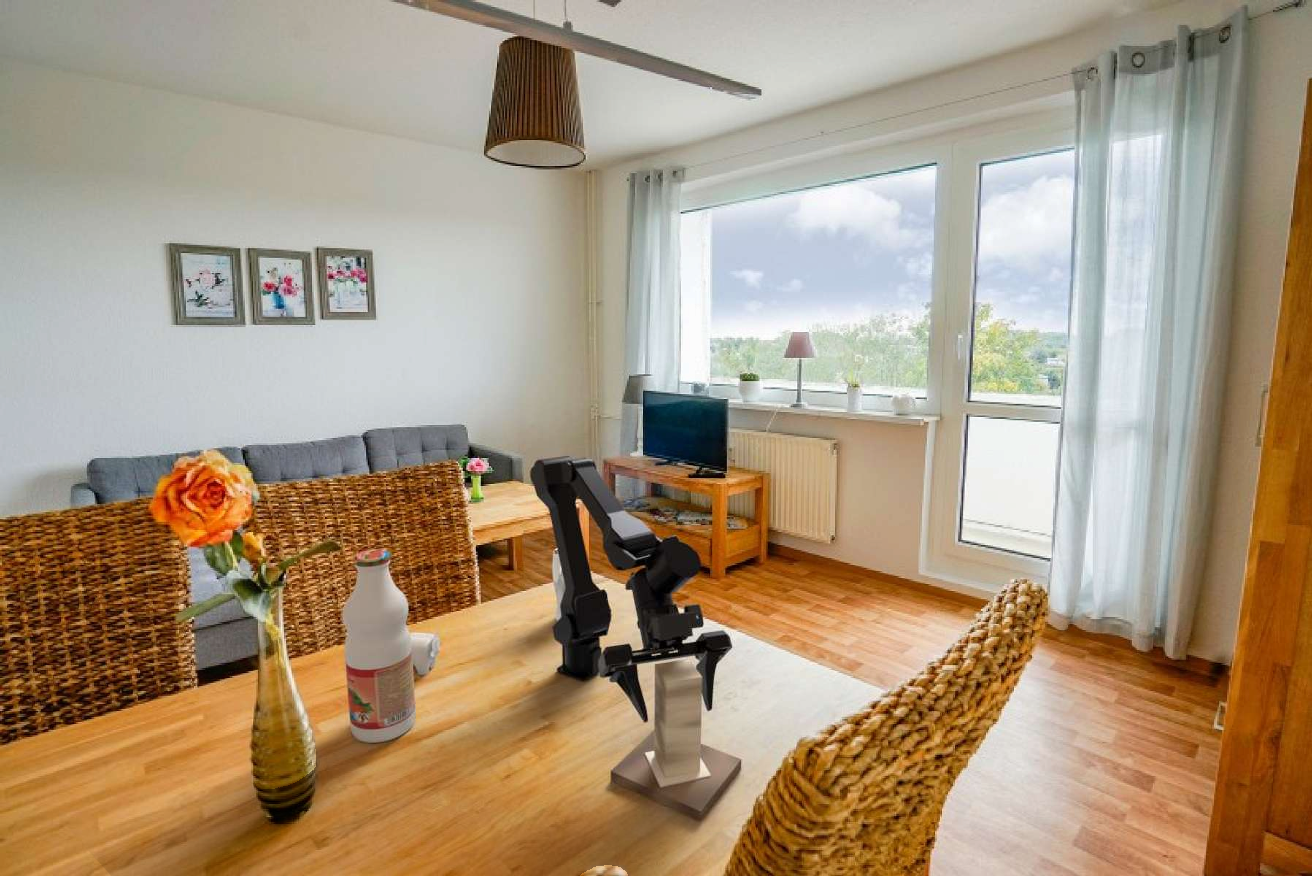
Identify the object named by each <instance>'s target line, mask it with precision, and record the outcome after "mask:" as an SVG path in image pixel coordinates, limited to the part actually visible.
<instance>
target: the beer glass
mask: <svg viewBox="0 0 1312 876" xmlns="http://www.w3.org/2000/svg"><path fill="white" fill-rule="evenodd" d="M552 581H553V586H554V591H555V595H556V596H555V597H556V603H557V605H556V606H557V607H556V612H555V621H556V622H557V621H558V620H559V619H560V618H561V610H560V604H561V601H562V598H563V595H564V592H565V583H564V578H563V573H562V568H561V564H560V559H559V554H558V550H557V548H555V549H553V551H552Z"/></svg>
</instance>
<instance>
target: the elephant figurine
mask: <svg viewBox="0 0 1312 876" xmlns="http://www.w3.org/2000/svg"><path fill="white" fill-rule="evenodd" d="M410 636H411V643H412V660H413V672H414V667H415V669H416V671H417V674H418V676H425V675H428V674H429V671H430V669H433V668H434V667H435V665H436V662H437V656H438V654H439V653H440V651H441V650H440V646H443V643H442V642H440V639H439V637H440V635H439V632H435V633H423V632H410Z"/></svg>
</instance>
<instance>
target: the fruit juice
mask: <svg viewBox="0 0 1312 876" xmlns="http://www.w3.org/2000/svg"><path fill="white" fill-rule="evenodd" d="M353 561H354V562H353V563H354V568H355V569H356V570H357V575H356V576H357V577H356V581H355V585H354V589H353V591H352V593H351V594H350V595H349V597H348V598H347V600H346V601H345V603H344V605H343V609H342V620H343V625H344V626H345V629H346V631H347V636H346V638H345V641H344V664H345V674H346V675H345V676H346V689H347V698H348V699H347V700H348V709H349V710H348V711H349V713H348V714H349V723H350V724H349V725H350V730H351V733H352V735H353V737H354V738H355V739H357V740H358V741H360V742H363V743H369V744H370V743H372V744H374V743H375V744H376V743H383V742H387V741H391V740H393V739H397V738H399V737H401V736H402V735H404V734H405V733H407V732H408V731H409V730H410V729H411V728H412V727H413V725H414V723H415V721H416V715H417V713H416V710H417V709H416V695H415V680H414V679H415V678H414V671H413V668H414V667H413V660H412V643H411V636H410V633H411V632H410V630H409V629H410V628H408V626H407V619H408V615H409V602H408V600H407V599H408V598H407V597H406V595H405V594H404V593H403V592H402V590H400V589H399V588H398V586H397V585H396V584H395V582H394V581H393V578H392V576H391V573H390V569H389V565H390V563H391V554H390V552H389V550H386V549H382V548H379V549H378V548H377V549H376V548H374V549H367V550H363V551H360V552H358V553H356V554H355V555H354V559H353Z"/></svg>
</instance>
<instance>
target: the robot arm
mask: <svg viewBox="0 0 1312 876" xmlns="http://www.w3.org/2000/svg"><path fill="white" fill-rule="evenodd" d="M529 477H530V481H531V483H532V485H533V487H534V491H535V494H536V496H537V497H538V499H539V500H540V501H541V502H542V503H543V504H544V505H545V507H547V509H548V512H549V516H550V520H551V525H552V530H553V535H554V540H555V544H556V549H557V550H558V554H559V559H560V564H561V568H562V573H563V578H564V583H565V592H564V595H563V598H562V601H561V604H560V610H561V618H560V619H559V620H558V621H556V622H555V623H554V625H553V626H552V634H553V635H552V636H553V639H554V641H556V642H557V643H559V644H560V645H561V654H562V655H561V657H562V660H561V661H562V664H561V665H559V666H558V667H556V672H557V673H560V674H561V675H562V674H563V675H566V676H568V677H570V678H573V679H576V680H579V681H582V682H585V681H587V680H589V679H590V678H592V677H593V676H594V675H595V674H597V673H599V678H602V679H605V678H609V683H617V685H618V686H619V687H620V689H621V690H622V691H623V692H624V694H625V695H626V696H627V698H628V699H629V700H630V702H631V704H632V706H633V707H634V709H635V710H636V712H637V714H638V715H639V717H640V718H641V721H643V723H644V724H646V723H648V722H649V716H648V715H649V714H648V710H647V706H646V702H645V698H644V695H643V691H642V687H641V684H640V680H639V674H638V672H639V671H638V665H643V664H648V663H654V662H655V663H656V662H662V661H668V660H674V659H681V658H688V657H695V659H696V660H697V661H698V663H697V664H696V665H695V668H696V669H697V671H698V672H699V673H700V675H701V676H702V701H703V703H704V705H705V708H706V711H707V712H711V711H712V709H713V701H714V700H713V699H714V684H715V674H716V669H717V666H718V663H719V662H720V661H722V660H723V658H724V657H725V656H726V655H727V654H728V653H729V652H730V651H731V650H732V649H733V644H732V641H731V637H730V634H728V633H727V632H726V631H725V630H724V629H723V630H715V631H708V632H707V631H706V632H702V633H701V634H700V635H699V636H698V637H697V638H696V639H695V641H691V642H683V641H687V639H688V638H689V637H690V638H691V637H694V633H693V629H698V628H703V627H704V624H705V623H704V616H703V611H702V609H701V605H700V604H699V603H697V604H689V605H684V608H683V612H679V611H680V610H679V608H678V606H677V604H676V603H674V598H673V594H675V593H677V592H678V591H679V590H681V589H682V588H683V587H684V586H686V585H687V584H688V583H689V582H690V581H692V580H693V579H694V578H695V577H696V576H697V575H698V574H699V573H700V570H701V566H702V562H701V558H700V556H699V553H698V552H697V550H695V549H694V548H693V547H692V546H690V545H689V544H687V543H685V542H682V541H680V539H679V537H678V536H677V535H676V534H675V535H674V534H673V535H670V536H666V537H664V538H663V539H661V538H659V537H658V536H656V534H655V533H654V531H653V530H652V529H651V528H650V527H649V526H648V525H647V524H646V523H645V522H644V521H643V520H641V519H639V518H637V517H635V516H633V515H630V514H629V513H628V512H627V511H626V509H624V506H623V505H622V504H621V503H620V501H619V500H618V499H617V497H616V495H615V494H614V492H613V491H612V490H611V489H610V486H608V484H607V483H606V482H605V480H604V479H603V478H602V475H601V474H600V472H599V471H598V470H597V465H596V463H595V461H594V460H593V459H592V458H588V457H582V458H574V459H573V457H571V456H569V455H565V456H564V455H563V456H557V457H550V458H542V459H537V460H536V461H535V462H534V464H533V466H532V467H531V468H530V471H529ZM577 498H579V500H580V501H581V502H582V504H583V505H584V507H585V508H586V510H587V511H588V512H589V514H590V516H591V517H592V519H593V521H594V522H595V523H596V525H597V526H598V528H599V530H600V531H601V533H602V535H603V536H602V549H603V550H604V553H605V555H606V556H607V559H608V562H609V563H610V564H611V565H612V567H613V568H614V569H615V570H616V571H617V572H618V571H621V572H625V571H629V570H633V569H636V568H639V567H642V568H640V569H638V570H637V571H636V572H631V573H630V576H629V579H628V580H627V581H626V584H625V590H626V591H631V592H632V598H633V602H634V606H635V612H636V616H637V621H636V624H637V629H638V630H639V631H640V632H639V633H640V636H641V641H642V648H641V649H636V650H633V647H632V646H631V644H630V643H624V644H618V645H616V644H615V645H611V646H605V648H604V649H603V650H602V647H601V643H600V641H601V639H600V638H601V637H605V636H608V632H609V628H610V625H611V621H612V608H611V607H610V603H609V598H608V593H607V591H606V590H605V588H602V589H600V587H599V586H597V585H596V584H595V583H596V582H595V583H594V581H593V576H592V573H591V572H592V571H591V568H590V563H589V558H588V554H587V550H586V549H587V548H586V545H585V541H584V536H583V531H582V527H581V522H580V517H579V513H578V507H577V502H576V501H577ZM643 566H644V567H643Z"/></svg>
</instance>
